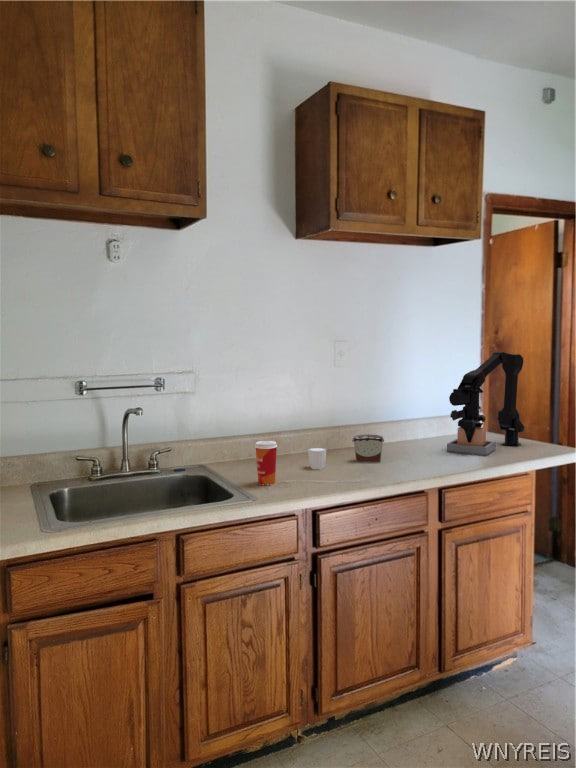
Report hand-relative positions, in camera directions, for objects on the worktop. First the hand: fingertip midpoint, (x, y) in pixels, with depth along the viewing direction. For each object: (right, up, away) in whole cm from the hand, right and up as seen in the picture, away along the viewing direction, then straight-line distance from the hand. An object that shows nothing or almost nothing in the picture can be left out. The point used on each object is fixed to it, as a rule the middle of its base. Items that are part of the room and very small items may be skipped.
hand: (471, 441), depth 240 cm
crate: (0, -4, 0) cm, 4 cm away
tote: (0, -2, 0) cm, 2 cm away
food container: (-45, -7, -15) cm, 48 cm away
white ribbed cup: (-66, -8, -25) cm, 71 cm away
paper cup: (-84, -10, -46) cm, 96 cm away
